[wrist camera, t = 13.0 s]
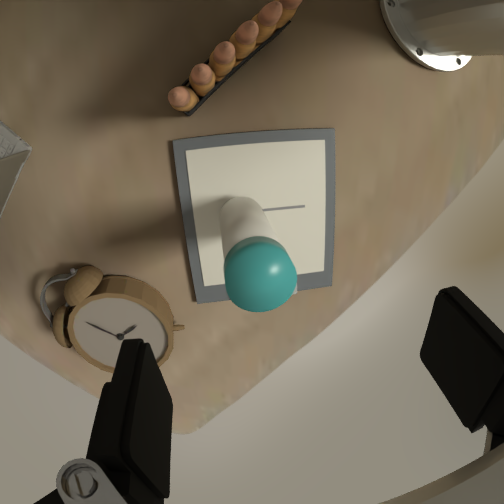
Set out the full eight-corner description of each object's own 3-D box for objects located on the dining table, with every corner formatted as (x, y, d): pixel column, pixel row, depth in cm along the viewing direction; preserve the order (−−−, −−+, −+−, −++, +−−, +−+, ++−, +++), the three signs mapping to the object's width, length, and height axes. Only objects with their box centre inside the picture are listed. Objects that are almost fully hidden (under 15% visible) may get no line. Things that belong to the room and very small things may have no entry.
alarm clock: (149, 387, 34) (25, 345, 26) (147, 356, 38) (35, 314, 30) (197, 324, 31) (49, 263, 23) (190, 293, 35) (61, 236, 27)
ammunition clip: (189, 117, 25) (174, 121, 14) (173, 103, 24) (147, 97, 14) (279, 34, 23) (327, -11, 12) (263, 20, 22) (302, -34, 11)
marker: (261, 189, 28) (297, 245, 17) (263, 232, 30) (296, 307, 19) (215, 194, 28) (221, 253, 17) (219, 237, 29) (229, 316, 19)
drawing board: (332, 128, 27) (338, 129, 26) (330, 283, 34) (334, 289, 33) (173, 140, 26) (171, 141, 25) (197, 301, 33) (197, 308, 31)
